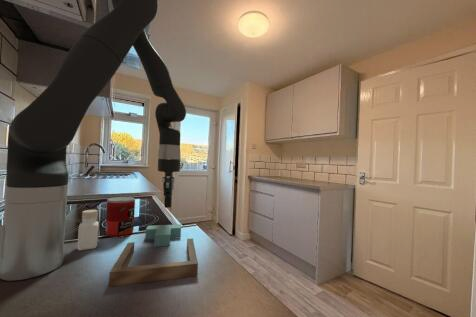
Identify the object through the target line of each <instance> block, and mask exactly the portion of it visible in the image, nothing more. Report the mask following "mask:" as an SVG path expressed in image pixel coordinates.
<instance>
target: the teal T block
mask: <svg viewBox="0 0 476 317" xmlns="http://www.w3.org/2000/svg"><path fill="white" fill-rule="evenodd" d="M173 237H182V224H181V223H178V224H158V225H147V227H146V228H145V240H146V239H151V240H154V244H153V245H154V246H153V247H156V248H157V247H169V246H171V239H174V238H173Z"/></svg>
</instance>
